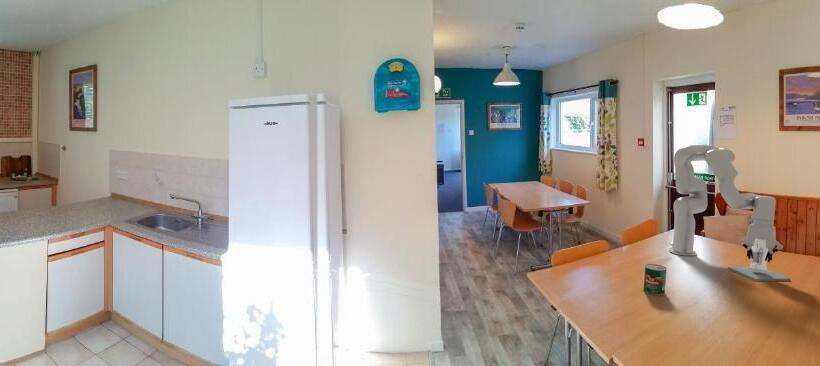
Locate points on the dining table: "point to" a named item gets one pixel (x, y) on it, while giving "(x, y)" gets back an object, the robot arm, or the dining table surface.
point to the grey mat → (759, 274)
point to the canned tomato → (655, 279)
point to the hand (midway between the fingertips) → (759, 259)
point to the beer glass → (759, 255)
